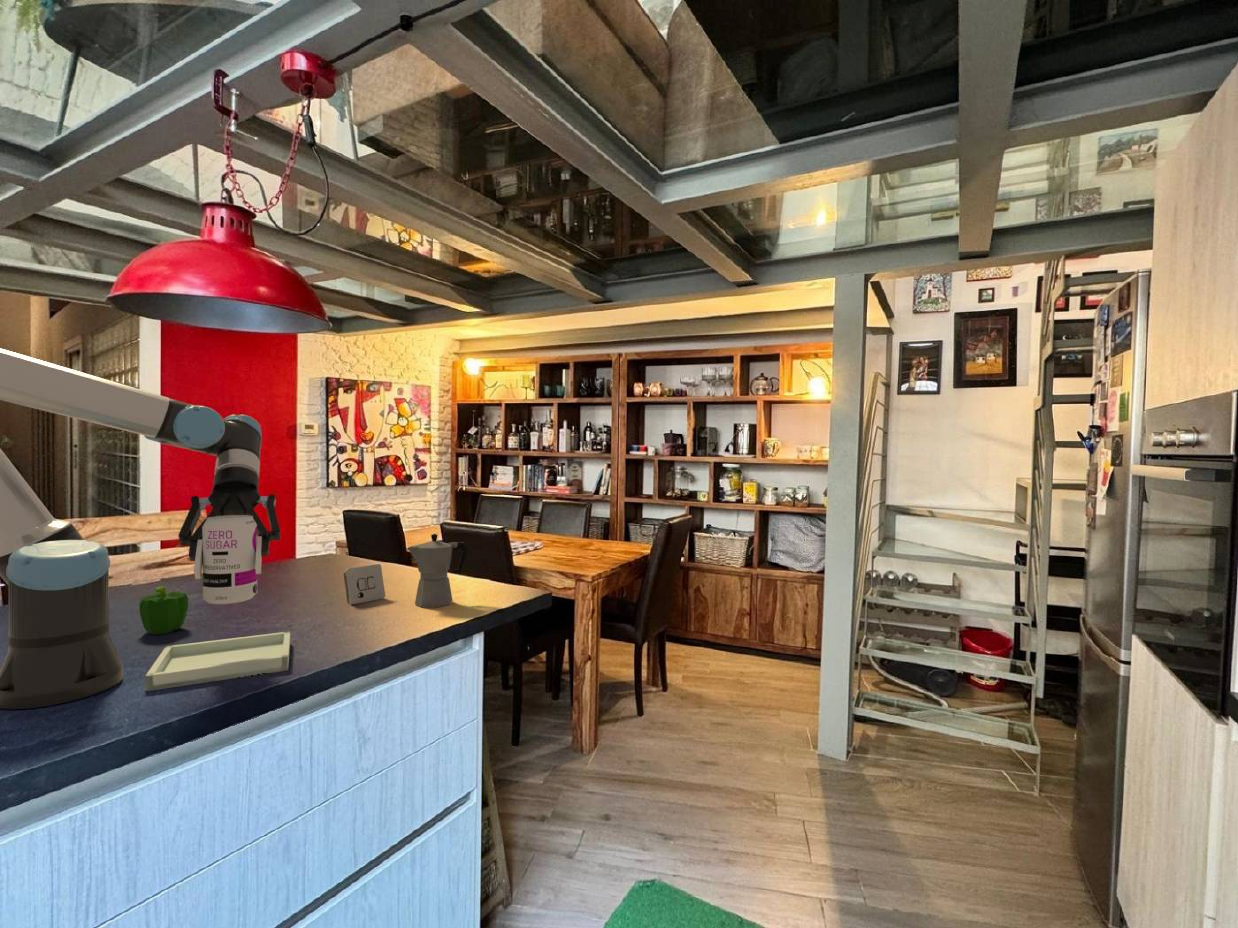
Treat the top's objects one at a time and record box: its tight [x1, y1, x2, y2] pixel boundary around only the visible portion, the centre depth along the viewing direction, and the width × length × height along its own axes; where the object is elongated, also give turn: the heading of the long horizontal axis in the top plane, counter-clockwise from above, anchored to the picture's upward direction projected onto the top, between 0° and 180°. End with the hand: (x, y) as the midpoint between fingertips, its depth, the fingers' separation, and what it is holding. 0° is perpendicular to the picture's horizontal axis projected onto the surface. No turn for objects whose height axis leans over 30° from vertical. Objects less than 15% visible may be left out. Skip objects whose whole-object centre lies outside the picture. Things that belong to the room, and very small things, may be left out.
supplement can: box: [202, 515, 258, 605], centre depth 105 cm, size 8×8×15 cm
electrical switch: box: [343, 563, 386, 605], centre depth 151 cm, size 9×5×9 cm, turn 141°
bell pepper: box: [138, 586, 189, 635], centre depth 123 cm, size 8×8×10 cm
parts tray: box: [144, 631, 291, 692], centre depth 104 cm, size 20×16×2 cm
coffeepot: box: [406, 533, 470, 609], centre depth 149 cm, size 15×9×18 cm, turn 112°
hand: (228, 571), depth 102 cm, fingers closed on supplement can, 8 cm apart
